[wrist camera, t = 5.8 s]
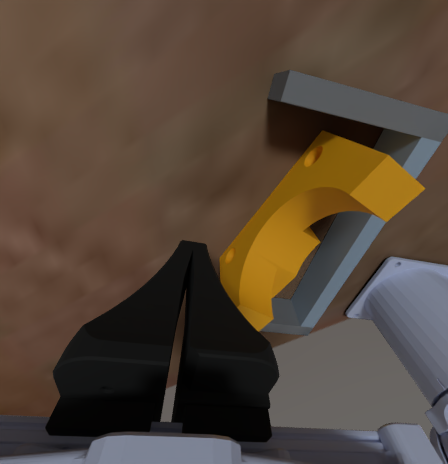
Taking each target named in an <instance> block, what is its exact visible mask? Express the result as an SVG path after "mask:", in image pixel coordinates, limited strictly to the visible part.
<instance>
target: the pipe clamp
mask: <svg viewBox="0 0 448 464" xmlns="http://www.w3.org/2000/svg"><path fill="white" fill-rule="evenodd" d="M424 189H425V188H424V187H423V186H422V185H421V184H420V183H419V182H418V181H417V180H415V179H414V178H413V177H412V176H411V175H410V174H409V173H408V172H407V171H406V170H405V169H403V168H402V167H401V166H400V165H399V164H398V163H397V162H396V161H395V160H394V159H393V158H392V157H390V156H389V155H387V154H385V153H382V152H379V151H377V150H374V149H371V148H369V147H366V146H363V145H361V144H358V143H355V142H353V141H350V140H347V139H345V138H342V137H339V136H337V135H334V134H331V133H329V132H326V131H323V130H322V131H321V132H320V134H319V135H318V136H317V137H316V139H315V140H314V141H313V142H312V144H311V145H310V146H309V147H308V149H307V150H306V151H305V152H304V154H303V155H302V156H301V157H300V158H299V160H298V161H297V162H296V163H295V165H294V166H293V167H292V168H291V170H290V171H289V172H288V173H287V175H286V176H285V177H284V178H283V180H282V181H281V182H280V183H279V185H278V186H277V187H276V188H275V190H274V191H273V192H272V193H271V195H270V196H269V197H268V198H267V200H266V201H265V202H264V203H263V205H262V206H261V207H260V208H259V210H258V211H257V212H256V213H255V215H254V216H253V217H252V218H251V220H250V221H249V222H248V223H247V225H246V226H245V227H244V228H243V230H242V231H241V232H240V233H239V235H238V236H237V237H236V238H235V240H234V241H233V242H232V243H231V245H230V246H229V247H228V248H227V250H226V251H225V252H224V253H223V255H222V256H221V257H220V282H221V284H222V286H223V287H224V289H225V291H226V292H227V294H228V296H229V297H230V299H231V300H232V301H233V303H234V304H235V306H236V307H237V308H238V309H239V311H240V312H241V313H242V314H243V316H244V317H245V318H246V319H247V321H248V322H249V323H250V324H251V325H252V326H253V327H254V328H255V329H256V330H257V331H258V332H259V331H260V330H261V329H262V328H264V327H265V326H266V325H267V324H268V323H269V322H271V321H272V320H273V319H274V317H273V313H272V303H271V299H272V298H273V297H274V296H275V295H276V294H277V293H278V292H280V291H281V290H282V289H283V288H284V287H285V286H286V285H287V284H288V283H289V282H290V281H291V280H293V279H294V278H295V277H296V275H297V273H298V270H299V268H300V267H301V265H302V263H303V261H304V260H305V258H306V257H307V256H308V255H309V253H310V252H311V251H312V250H313V249H314V248H315V247H316V246H317V245H318V244H319V243H320V241H319V239H318V238H317V237H316V235H315V234H314V232H313V231H312V229H311V228H310V227H309V226H310V225H312V224H313V223H315V222H316V221H318V220H320V219H322V218H324V217H326V216H329V215H331V214H335V213H339V212H345V211H360V212H365V213H369V214H372V215H375V216H377V217H379V218H381V219H382V220H384V221H385V222H387V221H388V220H389V219H391V218H392V217H393V216H394V215H395V214H396V213H398V212H399V211H400V210H401V209H402V208H403V207H405V206H406V205H407V204H408V203H409V202H410V201H412V200H413V199H414V198H415V197H416V196H417V195H418V194H420V193H421V192H422V191H423V190H424Z"/></svg>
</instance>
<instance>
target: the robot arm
mask: <svg viewBox="0 0 448 464" xmlns="http://www.w3.org/2000/svg"><path fill="white" fill-rule="evenodd" d="M185 291H186V308H185V327H184V336H183V344H182V351H181V358H180V365H179V372H178V379H177V386H176V393H175V400H174V407H173V414H172V421H171V422H160V419H161V413H162V408H163V402H164V395H165V390H166V384H167V378H168V372H169V366H170V360H171V354H172V348H173V342H174V336H175V330H176V326H177V321H178V318H179V314H180V310H181V306H182V302H183V298H184V295H185ZM346 315H347V317H350V318H358V319H367V320H373V321H374V323H375V325H376V326H377V327H378V329H379V331H380V332H381V333H382V335H383V336H384V338H385V339H386V341H387V342H388V343H389V345H390V347H391V348H392V349H393V351H394V352H395V354H396V355H397V357H398V358H399V360H400V361H401V362H402V364H403V365H404V367H405V368H406V370H407V371H408V373H409V374H410V375H411V377H412V378H413V380H414V381H415V383H416V384H417V386H418V387H419V389H420V390H421V392H422V393H423V395H424V396H425V397H426V399H427V400H428V402H429V403H430V405H431V406H432V408H431V409H430V410H428V411H426V412H425V414H426V416H427V417H428V419H429V420H430V422H431V423H432V425H433V427H432V429H431V431H430V441H429V439H428V438H427V436H426V435H425V433H424V431H423V430H422V428H421V426H420V425H418V424H413V423H388V424H385V425H383V426H381V427H380V428H379V429H378V431H364V430H363V431H362V430H340V429H316V428H292V427H271V425H270V418H269V412H268V409H269V408H270V400H269V395H268V394H269V392H270V391H271V389H272V388H273V386H274V385H275V383H276V382H277V380H278V378H279V370H278V365H277V361H276V358H275V355H274V353H273V350H272V347H271V344H270V342H269V341H267V340H266V339H265V338H264V337H263V336H262V335H261V334H260V333H259V332H258V331H257V330H256V329H255V328H254V327H253V326H252V325H251V324H250V323H249V322H248V321H247V319H246V318H245V317H244V316H243V314H242V313H241V312H240V311H239V309H238V308H237V307H236V306H235V304H234V303H233V301H232V300H231V299H230V297H229V296H228V294H227V292H226V291H225V289H224V287H223V286H222V284H221V282H220V280H219V278H218V276H217V274H216V272H215V269H214V267H213V265H212V262H211V259H210V256H209V253H208V250H207V245H206V244H204V243H197V242H191V241H184V240H182V241H181V242H180V244H179V245H178V247H177V249H176V250H175V252H174V253H173V255H172V256H171V257H170V258H169V260H168V261H167V262H166V263H165V265H164V266H163V267H162V268H161V269H160V270H159V271H158V272H157V273H156V274H155V275H154V276H153V277H152V278H151V279H150V280H149V281H148V282H147V283H146V284H145V285H144V286H142V287H141V288H140V289H139V290H137V291H136V292H135V293H134V294H132V295H131V296H130V297H128V298H127V299H126V300H124V301H123V302H121V303H120V304H118V305H117V306H115V307H114V308H112V309H111V310H109V311H107V312H106V313H104V314H102V315H101V316H99V317H97V318H95V319H93V320H92V321H90V322H88V323H86V324H84V325H83V326H82V327H81V328H80V330H79V331H78V332H77V333H76V335H75V336H74V337H73V339H72V340H71V341H70V343H69V344H68V346H67V347H66V349H65V351H64V352H63V354H62V356H61V358H60V359H59V361H58V363H57V365H56V367H55V368H54V370H53V377H54V380H55V383H56V385H57V388H58V390H59V393H60V396H61V397H60V399H59V401H58V403H57V405H56V407H55V409H54V411H53V413H52V415H51V417H34V416H10V415H0V464H448V266H447V265H441V264H435V263H429V262H423V261H417V260H410V259H404V258H398V257H389V258H387V259H386V260H385V262H384V263H383V264H382V265H381V267H380V268H379V269H378V271H377V272H376V273H375V275H374V276H373V277H372V278H371V280H370V281H369V282H368V284H367V285H366V286H365V288H364V289H363V290H362V291H361V293H360V294H359V295H358V297H357V298H356V299H355V301H354V302H353V303H352V304H351V306H350V307H349V308H348V310H347V311H346Z"/></svg>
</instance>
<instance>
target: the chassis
mask: <svg viewBox="0 0 448 464" xmlns="http://www.w3.org/2000/svg"><path fill="white" fill-rule="evenodd" d="M268 99H270V100H274V101H278V102H282V103H286V104H290V105H294V106H298V107H302V108H305V109H309V110H313V111H317V112H321V113H325V114H329V115H333V116H337V117H341V118H345V119H348V120H352V121H356V122H360V123H364V124H368V125H372V126H376V127H380V128H384V130H383V132H382V133H381V135H380V137H379V139H378V141H377V143H376V144H375V146H374V148H373V149H374V150H377V151H379V152H382V153H385V154H387V155H389V156H390V157H392V158H393V159H394V160H395V161H396V162H397V163H398V164H399V165H400V166H401V167H402V168H403V169H405V170H406V171H407V172H408V173H409V174H410V175H411V176H412V177H413V178H414V179H416V178H417V177H418V175H419V174H420V172H421V171H422V169H423V168H424V166H425V165H426V164H427V162H428V161H429V159H430V158H431V156H432V155H433V153H434V152H435V150H436V149H437V148H438V146H439V145H440V143H441V142H442V140H443V139H444V137H445V136H446V135H447V133H448V114H446V113H442V112H439V111H435V110H431V109H428V108H424V107H421V106H417V105H414V104H410V103H406V102H403V101H399V100H396V99H392V98H389V97H385V96H381V95H378V94H374V93H371V92H367V91H364V90H360V89H356V88H353V87H349V86H346V85H342V84H339V83H335V82H331V81H328V80H324V79H321V78H317V77H314V76H310V75H307V74H303V73H299V72H296V71H292V70H288V71H284V72H280V73H276V74H274V77H273V81H272V85H271V88H270V92H269V96H268ZM385 223H386V222H385V221H384V220H382V219H381V218H379V217H377V216H375V215H372V214H369V213H365V212H360V211H345V212H339V213H338V214H337V216H336V218H335V220H334V221H333V223H332V225H331V227H330V229H329V231H328V232H327V234H326V236H325V238H324V240H323V242H322V243H321V245H320V247H319V249H318V251H317V253H316V254H315V256H314V258H313V260H312V262H311V264H310V265H309V267H308V269H307V271H306V273H305V275H304V276H303V278H302V280H301V282H300V284H299V286H298V287H297V289H296V291H295V293H294V295H293V297H292V298H291V300H290V299H282V298H272V299H271V303H272V313H273V317H274V319H273V320H272V321H271V322H269V323H268V324H267V325H266V326H265V327H264V328H262V329H261V330H260V331H265V332H276V333H286V334H297V335H308V334H309V333H310V331H311V330H312V329H313V327H314V326H315V324H316V323H317V321H318V320H319V318H320V317H321V316H322V314H323V313H324V311H325V310H326V308H327V307H328V305H329V304H330V303H331V301H332V300H333V298H334V297H335V295H336V294H337V292H338V291H339V289H340V288H341V287H342V285H343V284H344V282H345V281H346V279H347V278H348V276H349V275H350V274H351V272H352V271H353V269H354V268H355V266H356V265H357V263H358V262H359V261H360V259H361V258H362V256H363V255H364V253H365V252H366V250H367V249H368V247H369V246H370V245H371V243H372V242H373V240H374V239H375V237H376V236H377V234H378V233H379V232H380V230H381V229H382V227H383V226H384V224H385Z"/></svg>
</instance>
